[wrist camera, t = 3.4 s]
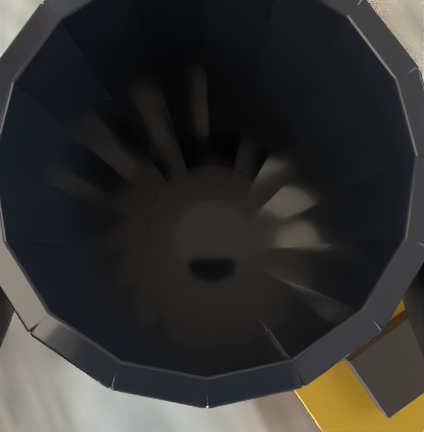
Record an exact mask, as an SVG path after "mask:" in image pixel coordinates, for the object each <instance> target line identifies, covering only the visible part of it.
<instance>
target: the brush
mask: <svg viewBox="0 0 424 432" xmlns="http://www.w3.org/2000/svg"><path fill="white" fill-rule="evenodd" d="M381 330H382V331H381V332H380V333H379V334H378V335H376V336H375V337H373V338H372V339H371V340H369V341H368V342H367V343H365V344H364V345H362V346H361V347H360V348H358V349H357V350H355V351H354V352H353V353H351V354H350V355H349V356H347V357H346V358H344V359H343V360H342V361H340V362H339V363H337V364H336V365H335V366H333V367H332V368H331V369H329V370H328V371H326V372H325V373H324V374H322V375H321V376H319V377H318V378H317V379H315V380H314V381H312V382H311V383H310V384H308V385H307V386H302V388H300V389H296V390H294V391H295V392H296V394H297V395H298V397H299V398H300V400H301V401H302V403H303V404H304V406H305V407H306V409H307V410H308V412H309V413H310V415H311V416H312V418H313V419H314V421H315V422H316V424H317V425H318V426H319V428H320V429H321V431H322V432H423V431H424V358H423V356H422V353H421V351H420V348H419V346H418V343H417V341H416V338H415V336H414V333H413V331H412V328H411V325H410V323H409V320H408V317H407V314H406V311H405V308H404V304H403V300H401V302H400V303H399V305H398V307H397V308H396V310H395V312H394V313H393V315H392V317H391V318H390V320H389V322H388V323H387V325H386V327H385V328H384V329H381Z"/></svg>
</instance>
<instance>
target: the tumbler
mask: <svg viewBox="0 0 424 432" xmlns="http://www.w3.org/2000/svg"><path fill="white" fill-rule="evenodd" d="M417 69H418V66H417V64H416V63H415V62H414V61H413V59H412V58H411V57H410V55H409V54H408V53H407V52H406V50H405V49H404V48H403V46H402V45H401V44H400V43H399V41H398V40H397V39H396V37H395V36H394V35H393V34H392V32H391V31H390V30H389V28H388V27H387V26H386V25H385V23H384V22H383V21H382V19H381V18H380V17H379V16H378V14H377V13H376V12H375V10H374V9H373V8H372V7H371V5H370V4H369V3H368V1H367V0H44V2H43V4H40V5H39V6H38V8H37V9H36V10H35V12H34V13H33V14H32V16H31V17H30V18H29V20H28V21H27V22H26V24H25V25H24V26H23V28H22V29H21V31H20V32H19V33H18V35H17V36H16V37H15V39H14V40H13V41H12V43H11V44H10V45H9V47H8V48H7V49H6V51H5V52H4V53H3V55H2V56H1V57H0V288H1V289H2V291H3V293H4V294H5V296H6V297H7V299H8V301H9V302H10V304H11V306H12V307H13V309H14V310H15V312H16V314H17V315H18V317H19V319H20V320H21V322H22V323H23V325H24V327H25V328H26V330H27V331H28V332H31V335H32V336H33V337H34V338H36V339H37V340H39V341H40V342H41V343H43V344H44V345H46V346H47V347H49V348H50V349H51V350H53V351H54V352H56V353H57V354H59V355H60V356H62V357H63V358H64V359H66V360H67V361H69V362H70V363H72V364H73V365H74V366H76V367H77V368H79V369H80V370H82V371H83V372H85V373H86V374H87V375H89V376H90V377H92V378H93V379H95V380H96V381H97V382H99V383H100V384H102V385H103V386H105V387H106V388H111V390H114V391H119V392H124V393H129V394H134V395H139V396H144V397H149V398H154V399H159V400H164V401H169V402H174V403H179V404H184V405H189V406H194V407H199V408H206V406H207V408H214V407H218V406H223V405H227V404H232V403H237V402H241V401H246V400H250V399H255V398H260V397H264V396H269V395H273V394H278V393H283V392H287V391H292V390H296V389H300V388H302V386H307V385H308V384H310V383H311V382H312V381H314V380H315V379H317V378H318V377H319V376H321V375H322V374H324V373H325V372H326V371H328V370H329V369H331V368H332V367H333V366H335V365H336V364H337V363H339V362H340V361H342V360H343V359H344V358H346V357H347V356H349V355H350V354H351V353H353V352H354V351H355V350H357V349H358V348H360V347H361V346H362V345H364V344H365V343H367V342H368V341H369V340H371V339H372V338H373V337H375V336H376V335H378V334H379V333H380V332H381V331H382V330H381V329H384V328H385V327H386V325H387V323H388V322H389V320H390V318H391V317H392V315H393V313H394V312H395V310H396V308H397V307H398V305H399V303H400V302H401V300H402V298H403V296H404V295H405V293H406V291H407V290H408V288H409V286H410V285H411V283H412V281H413V280H414V278H415V276H416V275H417V273H418V271H419V269H420V268H421V266H422V264H423V263H424V82H423V79H422V75H421V72H420V70H417Z"/></svg>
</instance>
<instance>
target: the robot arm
mask: <svg viewBox="0 0 424 432" xmlns="http://www.w3.org/2000/svg"><path fill="white" fill-rule="evenodd" d="M402 300H403V304H404V308H405V311H406V314H407V317H408V320H409V323H410V325H411V328H412V331H413V333H414V336H415V338H416V341H417V343H418V346H419V348H420V351H421V353H422V356H423V358H424V263H423V264H422V266H421V268H420V269H419V271H418V273H417V275H416V276H415V278H414V280H413V281H412V283H411V285H410V286H409V288H408V290H407V291H406V293H405V295H404V296H403V298H402ZM13 312H14V309H13V307H12V306H11V304H10V302H9V301H8V299H7V297H6V296H5V294H4V293H3V291H2V289H1V288H0V348H1V345H2V343H3V340H4V338H5V335H6V332H7V330H8V327H9V324H10V322H11V319H12V316H13Z"/></svg>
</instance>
